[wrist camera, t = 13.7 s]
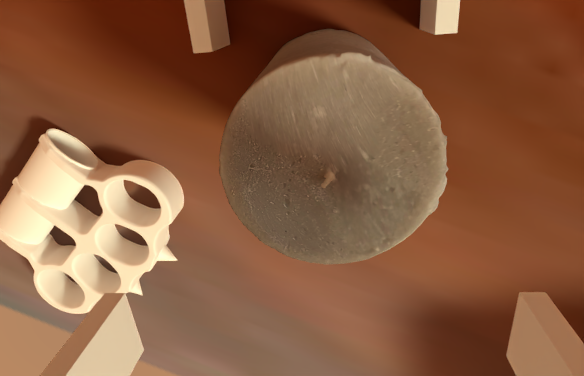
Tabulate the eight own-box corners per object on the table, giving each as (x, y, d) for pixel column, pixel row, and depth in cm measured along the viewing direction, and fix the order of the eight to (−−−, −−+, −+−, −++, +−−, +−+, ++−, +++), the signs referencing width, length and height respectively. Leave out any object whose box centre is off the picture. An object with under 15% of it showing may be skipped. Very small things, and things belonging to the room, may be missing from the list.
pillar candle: (262, 155, 31) (214, 276, 18) (263, 22, 27) (199, 50, 13) (385, 163, 30) (432, 294, 17) (406, 29, 26) (491, 64, 13)
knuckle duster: (79, 95, 31) (222, 210, 34) (-7, 229, 38) (119, 314, 41) (52, 105, 28) (211, 231, 31) (-36, 249, 35) (102, 339, 38)
